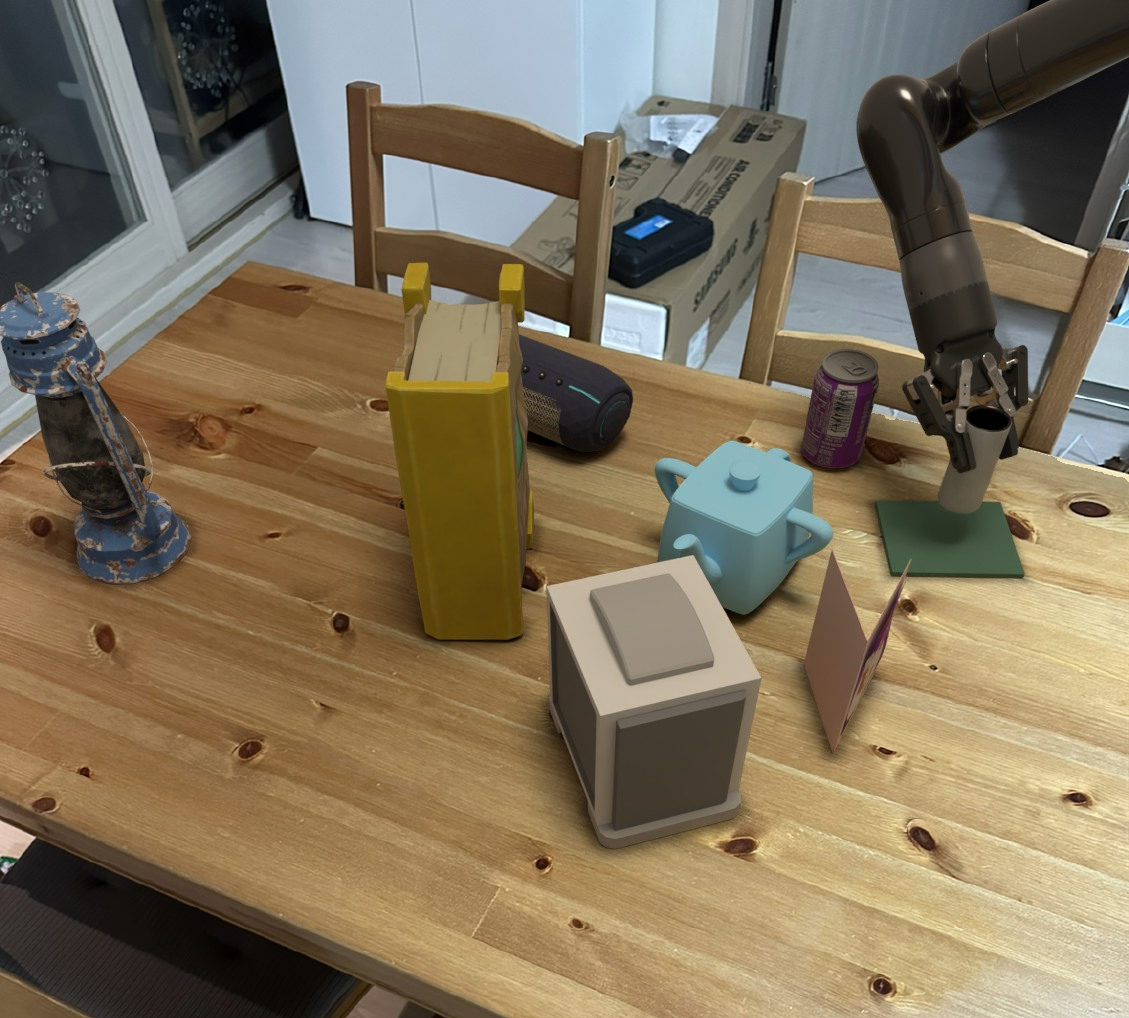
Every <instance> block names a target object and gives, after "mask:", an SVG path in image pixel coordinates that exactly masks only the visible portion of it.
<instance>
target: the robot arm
mask: <svg viewBox="0 0 1129 1018" xmlns="http://www.w3.org/2000/svg"><path fill="white" fill-rule="evenodd" d="M1128 58H1129V0H1048V1H1045V2H1044V3H1042V4H1039V5H1038V6H1036V7H1034V8H1031V9H1030V10H1027V11H1026V12H1025V11H1024V12H1023V13H1022V14H1020V15H1018V16H1016V17H1014V18H1012V19H1010V20H1008V21H1007V22H1005V23H1002V24H1001V25H999V26H997V27H995V28H993V29H992V30H989V31H988V32H986V33H984V34H982V35H981V36H979V37H977V38H976V39H975V40H973V41H971V42H970V43H969V44H968V45H967V46H966V47H965V48H964V49H963V50H962V52H961V53H960V56H959V58H958V60H957V61H955V62H954V63H952V64H950V65H948V66H947V67H945V68H943V69H941V70H939V71H938V72H936V73H935V74H932V75H930V76H927V77H925V78H920V77H916V76H912V75H909V74H904V73H903V74H902V73H895V74H890V75H885V76H883V77H881V78H880V79H878V80H877V81H875V82H874V83H873V84H871V86H870V87H869V88H868V89H867V91H866V92H865V93H864V95H863V97H862V98H861V100H860V103H859V106H858V109H857V115H856V121H855V122H856V127H855V129H856V130H855V131H856V140H857V145H858V149H859V153H860V156H861V158H862V161H863V164H864V166H865V169H866V171H867V173H868V176H869V178H870V181H871V182H872V185H873V187H874V188H875V191H876V194H877V196H878V197H879V200H880V201H881V204H882V205H883V207H884V209H885V211H886V214H887V216H888V219H889V223H890V230H891V234H892V237H893V242H894V245H895V250H896V254H897V259H898V261H899V263H898V264H899V268H900V277H901V284H902V291H903V294H904V297H905V302H906V306H907V310H908V313H909V314H908V315H909V317H910V321H911V322H910V323H911V325H912V330H913V334H914V338H915V341H916V347H917V350H918V352H919V353H920V354H922V355H923V357H924V365H923V372H922V373H920V374H919V375H917V376H916V377H913V378H911V379H909V380H906V381H905V382H903V383H902V385H901V390H902V392H903V394H904V396H905V398H906V400H907V401H908V403H909V406H910V408H911V409H912V411H913V414H914V415H915V417H916V419H917V421H918V423H919V425H920V427H921V429H922V430H923V432H924V434H925V435H926V436H927V437H932V436H937V437H941V438H943V439H944V440H945V443H946V447H947V451H948V455H949V460H950V459H951V464H952V466H953V467H954V469H956V470H957V472H958V473H964V472H968V471H971V470H974V469H975V468H976V461H975V457H974V453H973V449H972V444H971V440H970V436H969V433H968V432H966V433H964V431H965V430H966V411H967V410H968V409H969V408H970V405H971V397H973V398H974V400H975V402H976V403H977V405H991V406H995V407H998V408H1001V409H1002V410H1004V411H1006V412H1007V413H1008V414H1009V415H1010V417H1011V419H1012V424H1011V427H1010V430H1009V433H1008V435H1007V438H1006V440H1005V443H1004V446H1003V448H1002V451H1001V454H1000V456H999V459H998V460H1000V461H1002V460H1006V459H1009V458H1013V457H1017V455H1018V454H1019V448H1020V440H1019V437H1018V432H1017V428H1016V424H1015V418H1014V417H1015V415H1016V412H1018V411H1019V410H1020V409H1021V408H1022V407H1026V406H1027V405H1028V403H1029V349H1028V347H1027V346H1026V345H1025V344H1021V345H1018V346H1015V347H1003V346H1002V344H1001V342H999V340H998V338H997V337H996V334H995V333H996V328H997V326H998V319H997V315H996V311H995V306H994V302H993V298H992V294H991V289H990V285H989V280H988V277H987V276H988V275H987V273H986V272H987V271H986V269H985V265H984V260H983V257H982V253H981V250H980V247H979V245H978V242H977V240H976V238H975V234H974V232H973V227H972V222H971V218H970V215H969V211H968V206H967V199H966V197H965V194H964V190H963V187H962V185H961V183H960V181H959V180H958V178H957V177H956V176H954V175H953V174H952V173H951V172H950V171H949V170H948V169H947V168H946V166H945V163H944V161H943V158H942V154H943V153H945V152H947V151H949V150H951V149H952V148H954V147H956V146H958V145H959V144H961V143H962V142H964V141H965V140H967V139H968V138H970V137H972V136H973V135H975V134H977V133H978V132H979V131H981V130H982V129H984V128H985V127H986V126H987V125H989V124H991V123H993V122H996V121H998V120H1000V119H1004V118H1005V117H1008V116H1009V115H1012V114H1014V113H1016V112H1019V111H1021V110H1024V109H1025V108H1027V107H1029V106H1032V105H1033V104H1036V103H1038V102H1040V101H1042V100H1045V99H1047V98H1049V97H1050V96H1053V95H1055V94H1057V93H1059V92H1061V91H1063V90H1065V89H1067V88H1069V87H1071V86H1073V85H1075V84H1077V83H1080V82H1081V81H1084V80H1085V79H1087V78H1090V77H1091V76H1093V75H1095V74H1097V73H1099V72H1101V71H1103V70H1106V69H1107V68H1110V67H1111V66H1113V65H1116V64H1118V63H1120V62H1122V61H1124V60H1126V59H1128ZM1000 371H1001V372H1000ZM935 388H936V389H937V395H936V394H935V392H934V389H935Z"/></svg>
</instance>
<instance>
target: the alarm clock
mask: <svg viewBox="0 0 1129 1018" xmlns="http://www.w3.org/2000/svg"><path fill="white" fill-rule="evenodd" d="M546 611H547V613H546V615H547V617H546V618H547V643H548V645H547V648H548V676H549V677H548V678H549V692H548V696H547V697H548V698H547V700H548V701H547V704H548V707H547V708H548V709H549V713H550V715H551V717H552V720H553V723H554V725H555V728H556V730H557V734H562V737H563V739H564V742H565V745H566V747H567V750H568V752H569V755H570V757H571V760H572V763H573V765H574V768H575V771H576V773H577V776H578V778H579V779H578V780H579V781H580V784H581V786H582V789H583V792H584V794H585V797H586V800H587V812H588V815H589V818H590V820H591V823H592V826H593V829H594V831H595V834H596V837H597V839H598V842H599V843H600V845H602V846H603V847H605V848H608V849H613V850H616V849H621V848H625V847H629V846H632V845H636V844H640V843H644V842H648V841H651V840H656V839H659V838H663V837H667V836H671V835H675V834H679V833H682V832H688V831H690V830H694V829H699V828H702V827H706V826H709V825H714V824H717V823H721V822H725V821H730V820H734V818H735V817H736V816H737V815H738V814H739V812H740V807H741V803H742V799H743V798H742V797H743V795H742V794H741V792H740V786H741V782H742V776H743V771H744V767H745V761H746V757H747V753H748V752H747V751H748V746H749V742H750V737H751V732H752V728H753V727H752V726H753V722H754V717H755V712H756V707H757V702H758V697H759V692H760V688H761V682H762V676H761V674H760V672H759V671H758V669H757V667H756V665H755V663H754V661H753V660H752V658H751V656H750V653H748V651H747V649H746V647H745V645H744V643H743V642H742V640H741V638H740V636H739V635H738V633H737V631H736V629H735V627H734V625H733V624H732V622H731V621H730V618H729V616H728V614H727V613H726V611H725V608H724V607H722V606H721V604H720V602H719V600H718V599H717V597H716V595H715V593H714V591H713V589H712V588H711V586H710V584H709V582H708V580H707V579H706V577H705V575H704V573H703V571H702V570H701V568H700V566H699V564H698V562H697V561H696V559H695V557H694V555H691V556H687V557H682V558H677V559H672V560H667V561H662V562H658V561H657V562H653V563H649V564H644V565H640V566H639V565H638V566H634V567H630V568H629V567H628V568H625V569H620V570H616V571H611V572H606V573H600V574H597V575H592V576H587V577H583V578H582V577H581V578H578V579H574V580H568V581H564V582H559V583H555V584H550V585H546Z"/></svg>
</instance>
